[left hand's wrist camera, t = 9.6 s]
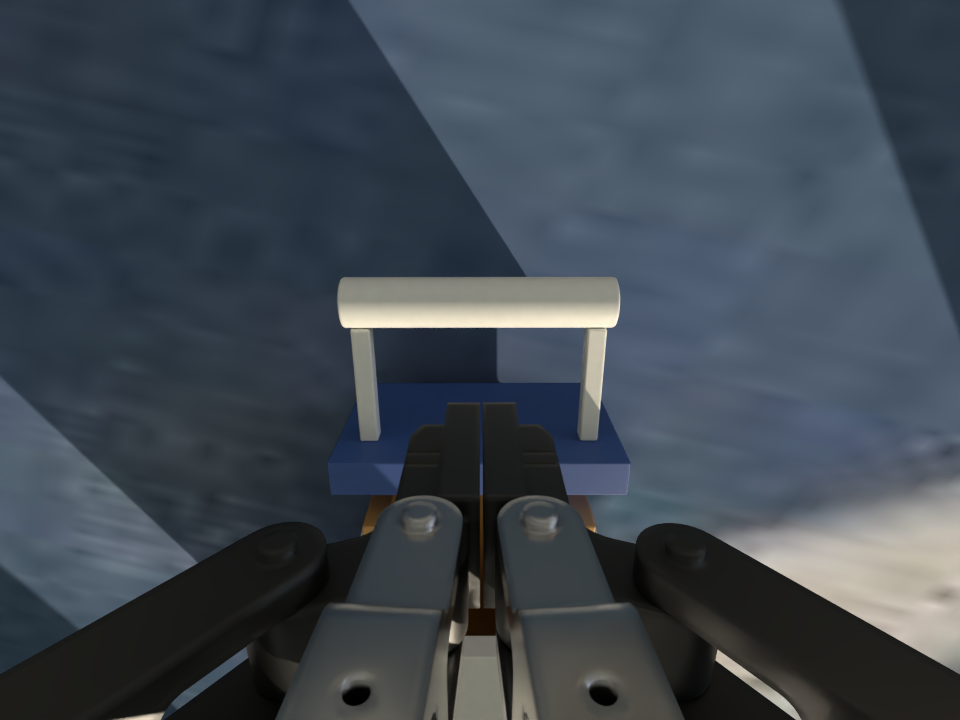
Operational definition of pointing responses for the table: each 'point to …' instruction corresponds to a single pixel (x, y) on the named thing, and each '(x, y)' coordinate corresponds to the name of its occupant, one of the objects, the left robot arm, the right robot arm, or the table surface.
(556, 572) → the left robot arm
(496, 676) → the cabinet
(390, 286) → the drawer
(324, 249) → the table surface
